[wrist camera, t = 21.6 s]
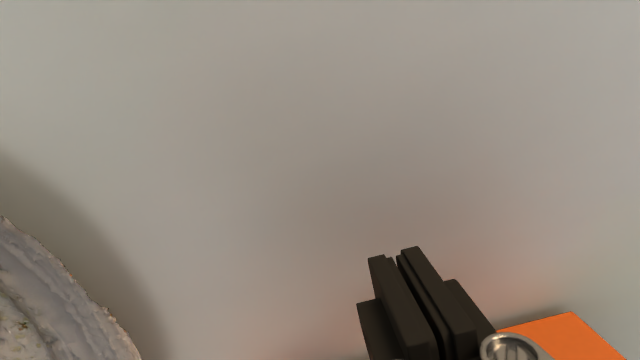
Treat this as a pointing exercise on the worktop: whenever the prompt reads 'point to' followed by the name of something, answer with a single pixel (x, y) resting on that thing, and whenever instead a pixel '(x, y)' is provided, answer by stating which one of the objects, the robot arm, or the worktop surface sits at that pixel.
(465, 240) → the worktop surface
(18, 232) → the food plate
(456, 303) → the robot arm
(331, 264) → the worktop surface
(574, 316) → the drawer
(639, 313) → the worktop surface
